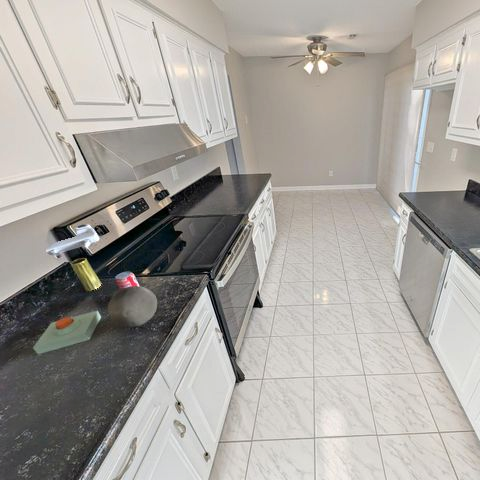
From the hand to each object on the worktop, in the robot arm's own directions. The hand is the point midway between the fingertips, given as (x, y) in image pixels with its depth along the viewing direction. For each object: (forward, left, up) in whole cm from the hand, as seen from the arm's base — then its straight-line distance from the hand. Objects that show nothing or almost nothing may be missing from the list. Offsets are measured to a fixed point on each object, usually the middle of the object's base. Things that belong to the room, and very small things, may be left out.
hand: (71, 252), depth 110 cm
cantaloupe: (+28, -40, -18) cm, 52 cm away
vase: (+2, -4, -18) cm, 18 cm away
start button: (+5, -35, -13) cm, 37 cm away
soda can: (+22, -22, -18) cm, 36 cm away
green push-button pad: (+5, -35, -17) cm, 39 cm away
